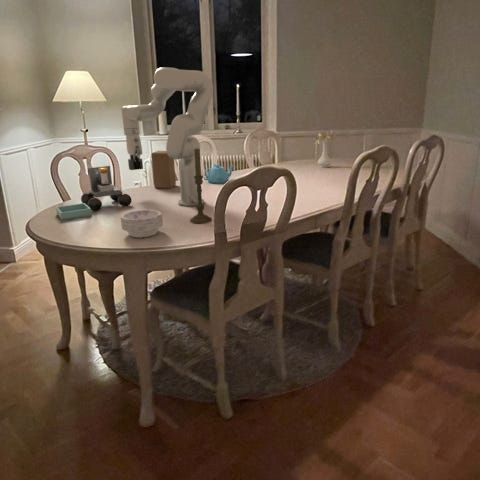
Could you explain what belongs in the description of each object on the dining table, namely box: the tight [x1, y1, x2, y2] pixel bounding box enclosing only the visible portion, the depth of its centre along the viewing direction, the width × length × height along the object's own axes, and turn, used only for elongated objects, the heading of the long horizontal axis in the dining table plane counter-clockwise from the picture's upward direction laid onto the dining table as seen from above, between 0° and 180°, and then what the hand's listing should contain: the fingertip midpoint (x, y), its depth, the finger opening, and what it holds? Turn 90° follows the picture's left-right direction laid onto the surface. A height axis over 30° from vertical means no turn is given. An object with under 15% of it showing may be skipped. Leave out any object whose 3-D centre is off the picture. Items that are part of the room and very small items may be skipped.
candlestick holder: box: [189, 147, 213, 225], centre depth 173 cm, size 9×9×30 cm
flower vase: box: [311, 129, 338, 169], centre depth 291 cm, size 13×18×25 cm
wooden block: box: [150, 150, 177, 189], centre depth 242 cm, size 10×10×20 cm
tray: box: [55, 203, 93, 221], centre depth 190 cm, size 12×12×4 cm
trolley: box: [80, 165, 132, 212], centre depth 203 cm, size 15×20×18 cm
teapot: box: [203, 162, 235, 184], centre depth 254 cm, size 15×15×10 cm
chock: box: [127, 158, 144, 171], centre depth 217 cm, size 4×6×5 cm, turn 122°
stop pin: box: [99, 168, 109, 186], centre depth 201 cm, size 4×4×10 cm
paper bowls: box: [120, 209, 164, 239], centre depth 161 cm, size 15×15×8 cm
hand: (136, 168), depth 218 cm, fingers closed on chock, 4 cm apart
